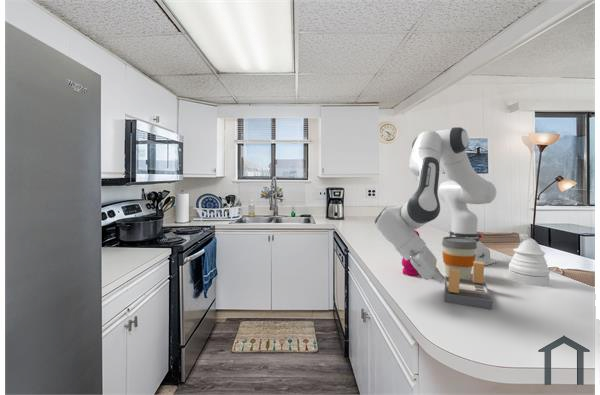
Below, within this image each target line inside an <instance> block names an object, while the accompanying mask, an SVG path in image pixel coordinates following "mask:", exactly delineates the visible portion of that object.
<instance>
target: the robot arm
mask: <svg viewBox="0 0 600 395" xmlns="http://www.w3.org/2000/svg"><path fill="white" fill-rule="evenodd" d="M468 147H469V136H468V133H467V130H466V129H464V128H463V127H460V126H459V127H458V126H457V127H452V128H444V129H439V130H436V131H433V130H426V131H422V132H420V133H419V135H418V136H416V137H415V138H414V140H413V141H412V144H411V149H412V150H411V152H410V157H409V161H408V165H409V168H408V169H409V170H410V172H411V173H412V174H413V175H415V176H416V177H418V183H417V189H416V191H415V192H414V194H412V196H411V197H410V198H409V199H408V200H407V201H406V202H405V203H404V204H401V205H398V206H392V207H388V206H386V207H384V208H383V209H382V211H380V212H379V214H377V216H376V218H375V220H374V225H375V227H376V228H377V230H378V231H379V232H380V234H381V235H382V236H383V237H384V238H385V240H387V241H388V242H389V243H390V244H392V246H393V247H394V248H395V249H394V250H396V251H397V252H398V254H399V255H400V256H401V258H402V259H403V258H404V259H405V260H408V259H410V260H411V261H410V262H411V264H412V265H413V266H414V268H415V269H416V270H417V271H418V272H419V274H418V275H420V276H421V277H422V278H423V279H424V280H426V281H429V279H432V278H434V279H435V280H437V281H438V283H439V284H442V283H443V282H445V276H444V275H443V274H442V273H441V271H440V270H439V268H438V267H437V258H436V256H435V254H433V252H432V251H431V250H430V248H429V247H428V246H427V243H426V241H424V239H422V238H421V236H420V235H419V236H420V237H419V236H418V235H417V234H416V233H415V231H414V230H416V231H417V230H418V229H420V228H421V227H423V226H424V225H426V224H427V223H430V222H431V221H434V220H435V219H437V217H438V216H439V214H440V212H441V203H440V200H441V201H443V203H445V205H446V207H447V208H448V211H449V214H450V223H451V224H450V231H449V237H464V238H470V239H474V240H476V245H477V248H476V250H475V255H476V256H475V261H478V262H483V263H484V266H488V265H491V264H496V263H497V261H496V259H494V258H491V251H490V249H489V248H488V247H487V246H486V245H485V244H484V243H482V242H481V241H480V240H481V239H483V238H484V236H485V235H484V233H478V220H479V218H478V216H477V215H476V214H475V213H474V212H472V211H471V210H470V209H469V208H468V206H467V205H468V204H469V205H485V204H490V203H493V201H494V200H495V198H496V196H497V188H496V186H495V185H494V183H492V182H490V181H489V180H487V179H485V178H483V177H481V175H479V174H478V172H476V170H475V169H474V168H473V167H472V164H471V161H470V159H469V156H468V154H467V150H466V149H467V148H468ZM440 165H441V166H440ZM441 167H442V170H443V172H444V174H445V177H446V178H448V179H449V180H446V181H443V182H441V183H440V184H439V182H440V181H439V180H440V170H441V169H440V168H441ZM439 198H440V199H439Z"/></svg>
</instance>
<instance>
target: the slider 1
mask: <svg viewBox="0 0 600 395" xmlns="http://www.w3.org/2000/svg"><path fill="white" fill-rule="evenodd" d="M448 277H449V287H448V291H449V292H454V293H459V280H460V269H453V268H449V276H448Z"/></svg>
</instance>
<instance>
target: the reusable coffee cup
mask: <svg viewBox="0 0 600 395" xmlns="http://www.w3.org/2000/svg"><path fill="white" fill-rule="evenodd" d="M441 245H442V261H443V264H444V269H445V270H444V271H445V276H447V277H449V268H453V269H460V278H462V279H469V280H470V279H471V275H472V272H473V261H475V256H476V255H475V250H476V248H477V245H476V240H474V239H470V238H464V237H450V236H444V237H443V238H442V243H441Z"/></svg>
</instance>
